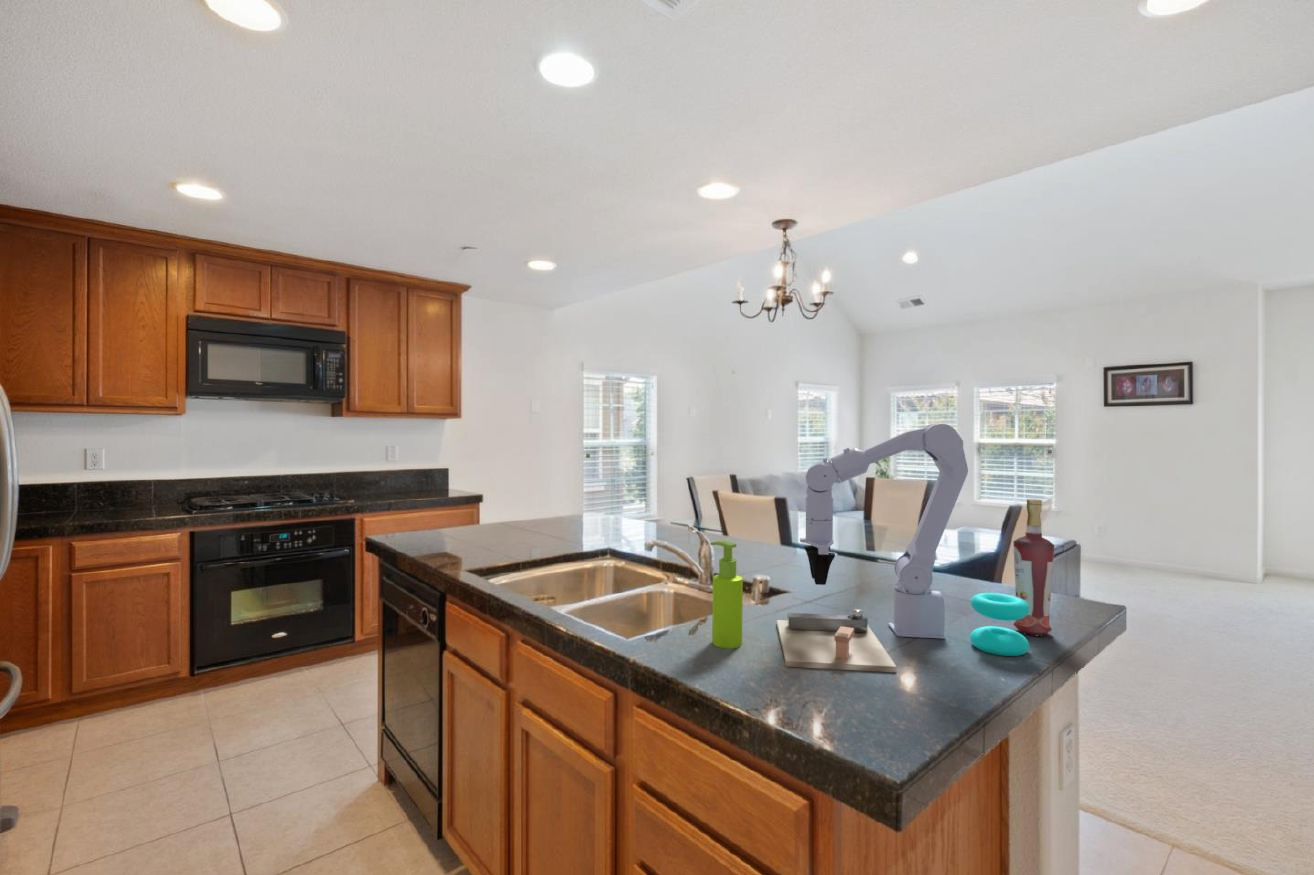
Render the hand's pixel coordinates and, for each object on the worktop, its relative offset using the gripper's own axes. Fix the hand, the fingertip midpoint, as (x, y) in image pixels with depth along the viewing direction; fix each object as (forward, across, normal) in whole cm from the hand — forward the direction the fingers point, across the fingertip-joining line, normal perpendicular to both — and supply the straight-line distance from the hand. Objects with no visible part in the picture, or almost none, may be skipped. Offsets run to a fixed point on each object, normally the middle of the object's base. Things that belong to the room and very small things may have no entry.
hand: (818, 581), depth 135 cm
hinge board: (+9, +14, 0) cm, 16 cm away
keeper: (+8, +20, +2) cm, 22 cm away
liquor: (+10, 0, +44) cm, 45 cm away
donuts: (+10, +10, +33) cm, 36 cm away
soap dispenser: (+10, +14, -20) cm, 27 cm away
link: (+8, +7, +1) cm, 11 cm away
